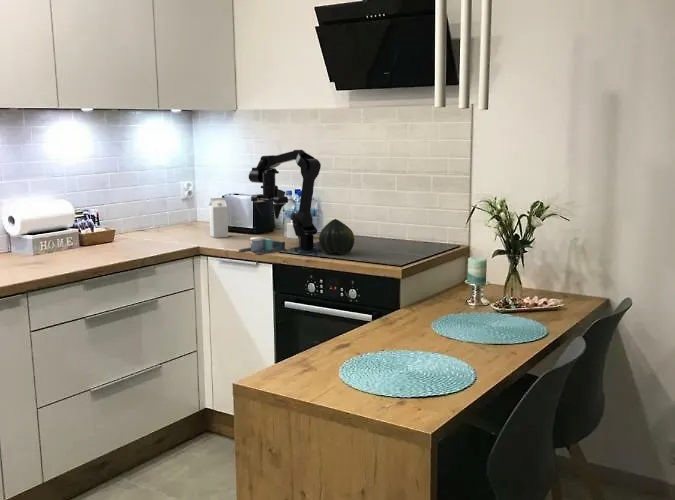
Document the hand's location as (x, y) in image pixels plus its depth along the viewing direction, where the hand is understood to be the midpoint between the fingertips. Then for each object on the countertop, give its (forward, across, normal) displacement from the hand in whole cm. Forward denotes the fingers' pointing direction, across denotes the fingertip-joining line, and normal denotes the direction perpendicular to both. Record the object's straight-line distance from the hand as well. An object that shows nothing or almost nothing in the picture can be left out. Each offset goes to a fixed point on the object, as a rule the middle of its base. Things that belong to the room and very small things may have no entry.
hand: (269, 217), depth 335 cm
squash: (+12, -39, -1) cm, 41 cm away
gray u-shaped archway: (+12, -10, +13) cm, 21 cm away
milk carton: (+13, +37, -1) cm, 39 cm away
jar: (+12, -10, +17) cm, 23 cm away
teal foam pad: (+12, -10, +13) cm, 20 cm away
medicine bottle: (+12, +4, -22) cm, 26 cm away
